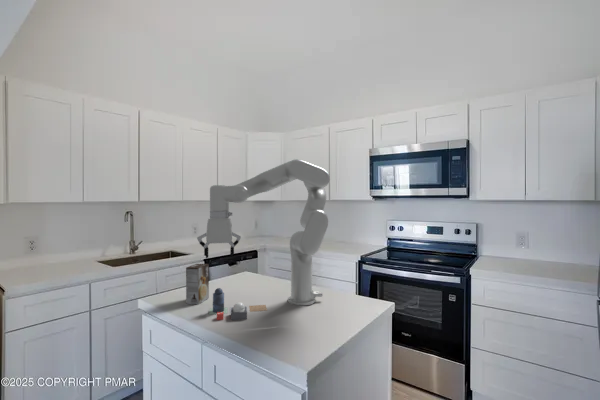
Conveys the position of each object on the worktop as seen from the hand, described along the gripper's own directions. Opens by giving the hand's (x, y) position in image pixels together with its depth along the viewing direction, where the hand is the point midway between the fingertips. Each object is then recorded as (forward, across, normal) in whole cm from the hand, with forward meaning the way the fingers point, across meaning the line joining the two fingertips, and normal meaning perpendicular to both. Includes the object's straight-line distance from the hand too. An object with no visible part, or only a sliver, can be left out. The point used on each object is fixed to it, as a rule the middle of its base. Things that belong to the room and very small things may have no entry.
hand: (219, 257), depth 125 cm
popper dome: (+23, -8, +8) cm, 25 cm away
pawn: (+22, 0, 0) cm, 22 cm away
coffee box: (+22, +10, -16) cm, 29 cm away
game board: (+22, -8, +4) cm, 24 cm away
